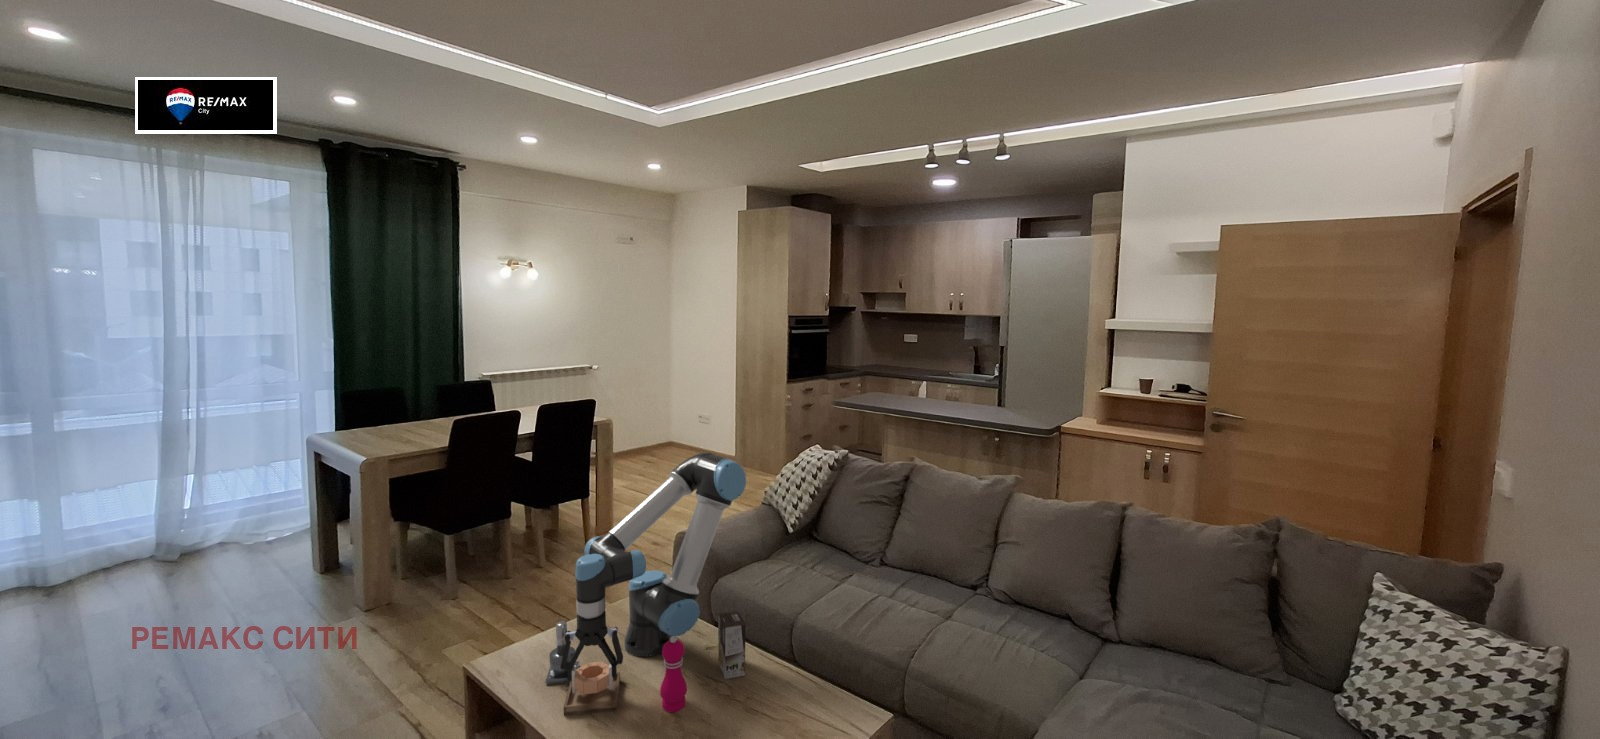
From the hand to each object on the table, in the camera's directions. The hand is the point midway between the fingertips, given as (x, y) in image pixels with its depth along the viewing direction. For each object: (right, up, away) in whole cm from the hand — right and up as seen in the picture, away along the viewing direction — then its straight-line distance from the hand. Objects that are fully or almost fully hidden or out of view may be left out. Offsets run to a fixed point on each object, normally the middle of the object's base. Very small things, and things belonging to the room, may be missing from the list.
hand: (592, 688), depth 176 cm
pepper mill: (+23, -4, -2) cm, 23 cm away
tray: (0, -3, 0) cm, 3 cm away
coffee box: (+37, -2, +15) cm, 40 cm away
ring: (0, +1, 0) cm, 2 cm away
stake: (-12, -1, +10) cm, 16 cm away
